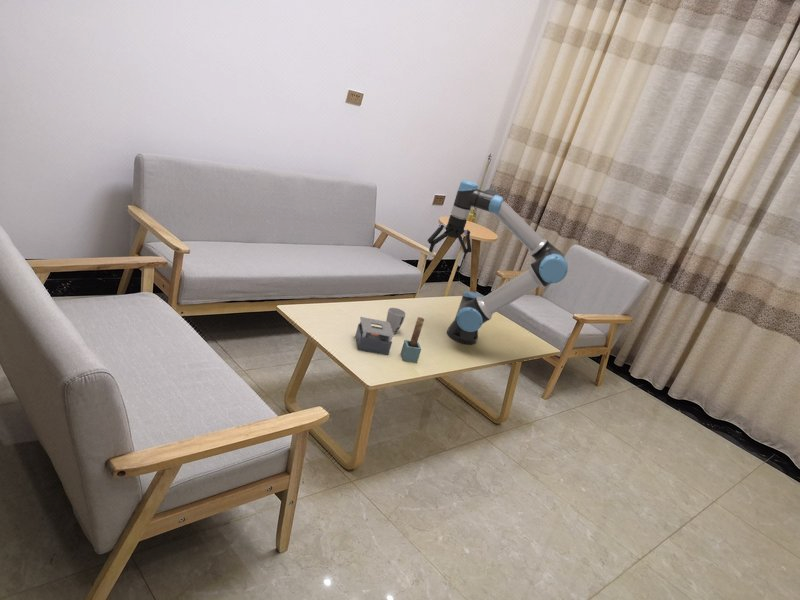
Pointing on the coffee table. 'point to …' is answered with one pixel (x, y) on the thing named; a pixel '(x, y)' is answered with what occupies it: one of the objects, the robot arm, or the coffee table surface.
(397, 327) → the cup
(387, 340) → the grey square box
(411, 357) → the holder
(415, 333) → the brown square bar
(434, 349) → the coffee table surface
